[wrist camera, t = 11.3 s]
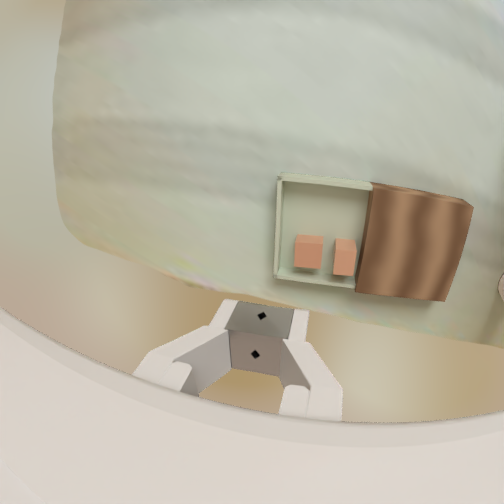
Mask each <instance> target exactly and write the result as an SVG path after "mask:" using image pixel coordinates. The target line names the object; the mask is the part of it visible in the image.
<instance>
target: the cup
mask: <svg viewBox="0 0 504 504" xmlns="http://www.w3.org/2000/svg"><path fill="white" fill-rule="evenodd" d="M498 291H499V293H500V295H501V297H502V299H503V301H504V274H503V276H502V277H501V279H500V281H499V285H498Z"/></svg>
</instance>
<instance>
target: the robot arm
mask: <svg viewBox="0 0 504 504" xmlns="http://www.w3.org/2000/svg"><path fill="white" fill-rule="evenodd" d="M308 318H309V310H305V309H289V308H282V307H274V306H267V305H261V304H255V303H249V302H243V301H236V300H230V299H225V300H223V302H222V304H221V306H220V307H219V309H218V311H217V312H216V314H215V316H214V317H213V319H212V321H211V322H210V324H209V326H202V327H200V328H198V329H196V330H194V331H192V332H190V333H188V334H186V335H184V336H182V337H179V338H177V339H175V340H173V341H171V342H169V343H167V344H165V345H163V346H160V347H158V348H156V349H154V350H152V351H149V352H148V354H147V355H146V356H145V358H144V359H143V361H142V362H141V363H140V365H139V366H138V368H137V369H136V370H135V372H134V373H133V374H132V375H130V374H128V373H125V372H123V371H120V370H118V369H115V368H113V367H110V366H108V365H106V364H103V363H101V362H99V361H97V360H94V359H92V358H90V357H88V356H86V355H84V354H82V353H79V352H77V351H75V350H73V349H71V348H69V347H67V346H65V345H63V344H61V343H60V342H58V341H56V340H54V339H52V338H50V337H48V336H46V335H45V334H43V333H41V332H40V331H38V330H36V329H34V328H33V327H31V326H29V325H28V324H26V323H24V322H23V321H21V320H19V319H18V318H16V317H14V316H13V315H12V314H10V313H9V312H7V311H6V310H4V309H3V308H1V307H0V504H504V410H502V411H497V412H492V413H487V414H482V415H476V416H469V417H462V418H455V419H446V420H436V421H423V422H403V423H402V422H401V423H367V422H345V421H341V418H342V400H343V389H342V387H341V386H340V384H339V383H338V382H337V380H336V379H335V378H334V376H333V375H332V373H331V372H330V370H329V369H328V368H327V366H326V365H325V363H324V362H323V361H322V359H321V358H320V356H319V355H318V354H317V352H316V351H315V349H314V348H313V347H312V345H311V344H310V342H305V340H306V333H307V326H308ZM231 368H234V369H240V370H246V371H252V372H258V373H263V374H268V375H273V376H279V378H280V381H281V383H282V385H283V388H284V394H283V398H282V402H281V406H280V410H279V413H278V414H273V413H267V412H262V411H257V410H251V409H246V408H242V407H237V406H232V405H228V404H224V403H220V402H215V401H211V400H208V399H204V398H200V397H199V393H200V392H201V391H203V390H204V389H205V388H207V387H208V386H210V385H211V384H212V383H214V382H215V381H216V380H218V379H219V378H221V377H222V376H223V375H225V374H226V373H227V372H229V371H230V370H231Z"/></svg>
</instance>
